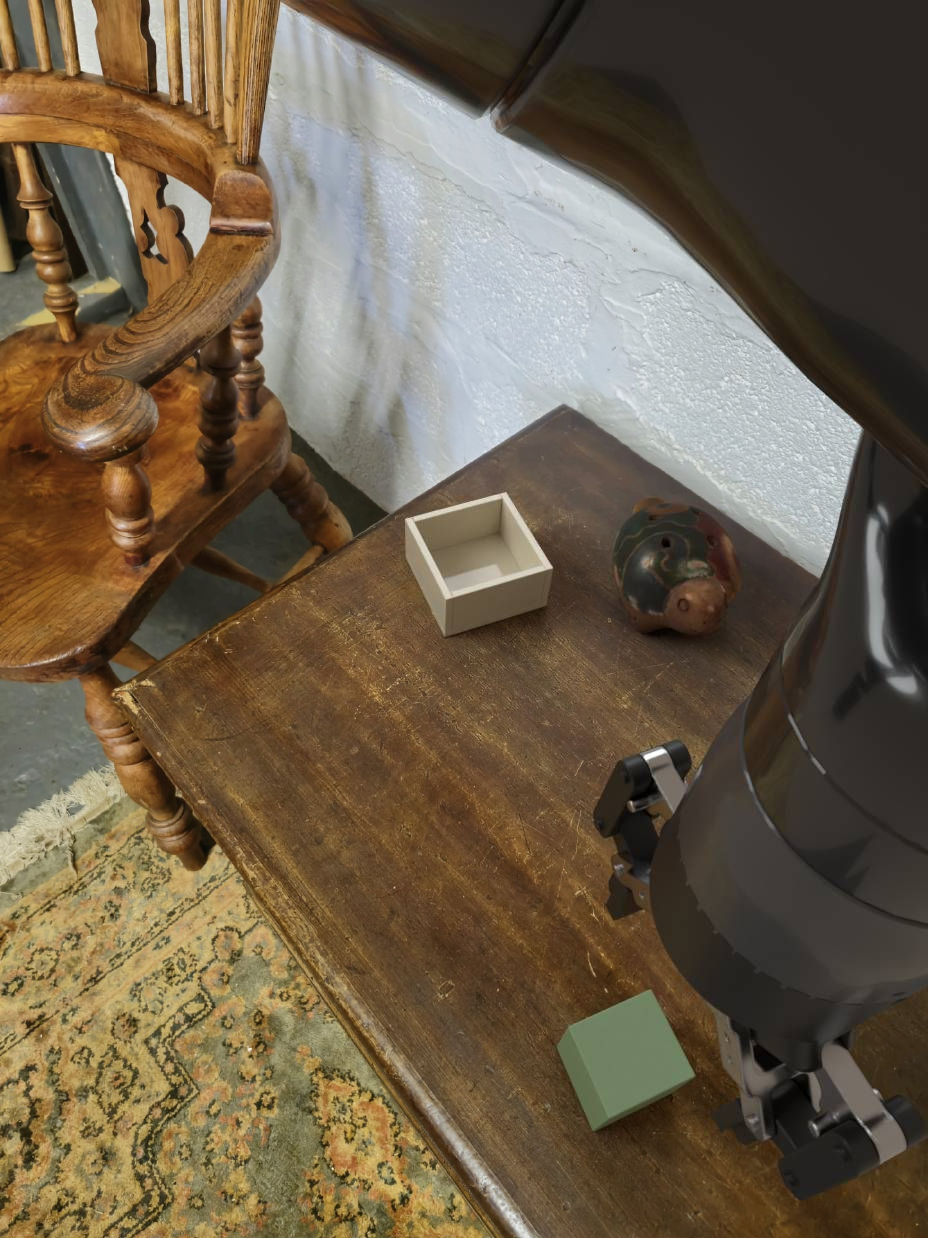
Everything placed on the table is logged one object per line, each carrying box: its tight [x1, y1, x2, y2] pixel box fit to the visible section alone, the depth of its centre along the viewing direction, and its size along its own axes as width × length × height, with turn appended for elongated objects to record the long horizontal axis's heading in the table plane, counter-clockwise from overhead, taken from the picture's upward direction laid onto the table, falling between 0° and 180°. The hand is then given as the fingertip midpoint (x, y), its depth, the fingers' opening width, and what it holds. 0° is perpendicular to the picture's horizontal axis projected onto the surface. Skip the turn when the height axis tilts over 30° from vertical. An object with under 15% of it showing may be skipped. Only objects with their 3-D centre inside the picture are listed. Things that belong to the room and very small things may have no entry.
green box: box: [556, 989, 696, 1132], centre depth 45 cm, size 5×4×5 cm
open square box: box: [404, 491, 554, 638], centre depth 66 cm, size 9×9×5 cm
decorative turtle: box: [611, 496, 742, 636], centre depth 65 cm, size 10×15×8 cm, turn 12°
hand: (679, 1002), depth 35 cm, fingers open, 8 cm apart
